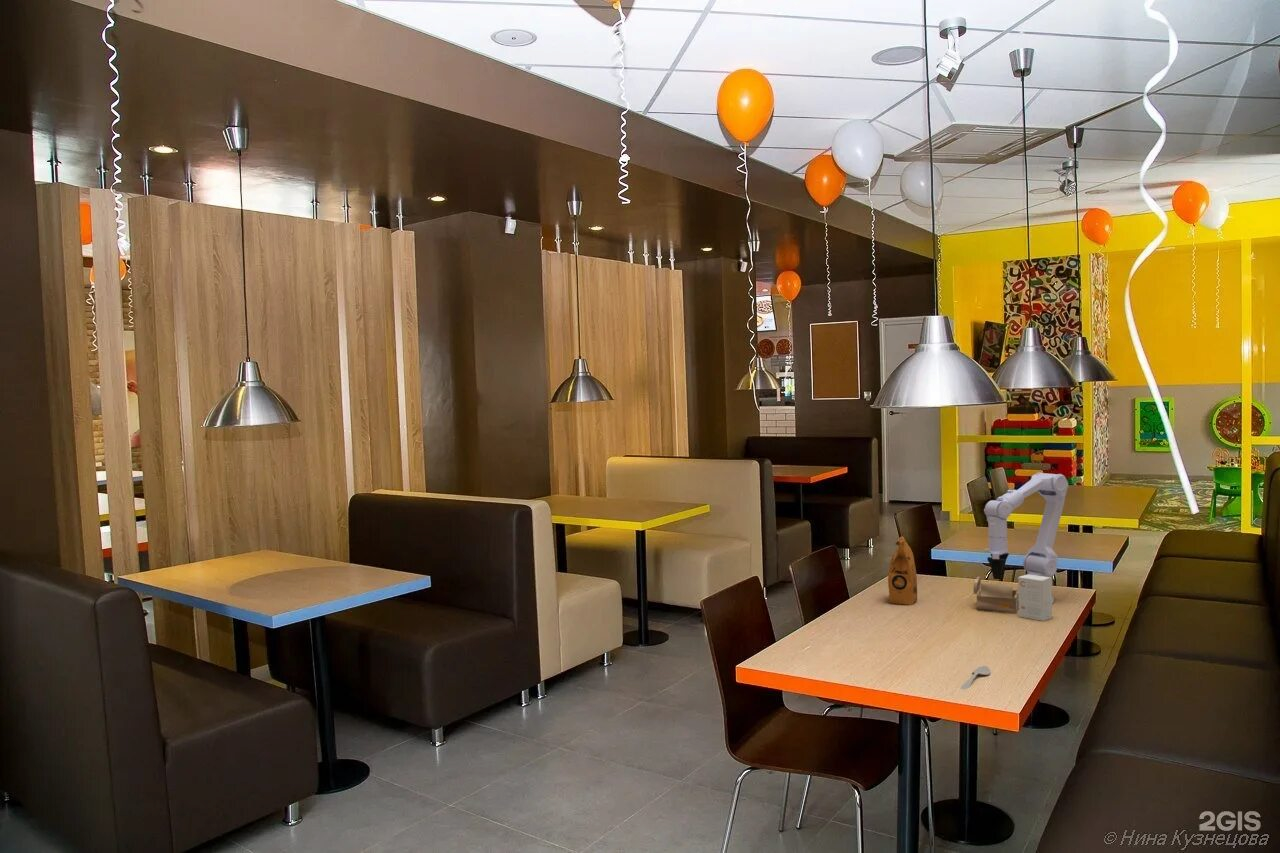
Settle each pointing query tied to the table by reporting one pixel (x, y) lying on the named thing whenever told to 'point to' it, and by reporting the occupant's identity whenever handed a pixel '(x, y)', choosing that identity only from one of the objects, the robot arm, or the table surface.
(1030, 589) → the small box
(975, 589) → the side flap
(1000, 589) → the front flap
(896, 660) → the table surface
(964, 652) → the table surface
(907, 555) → the coffee package
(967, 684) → the spoon
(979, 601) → the carton
